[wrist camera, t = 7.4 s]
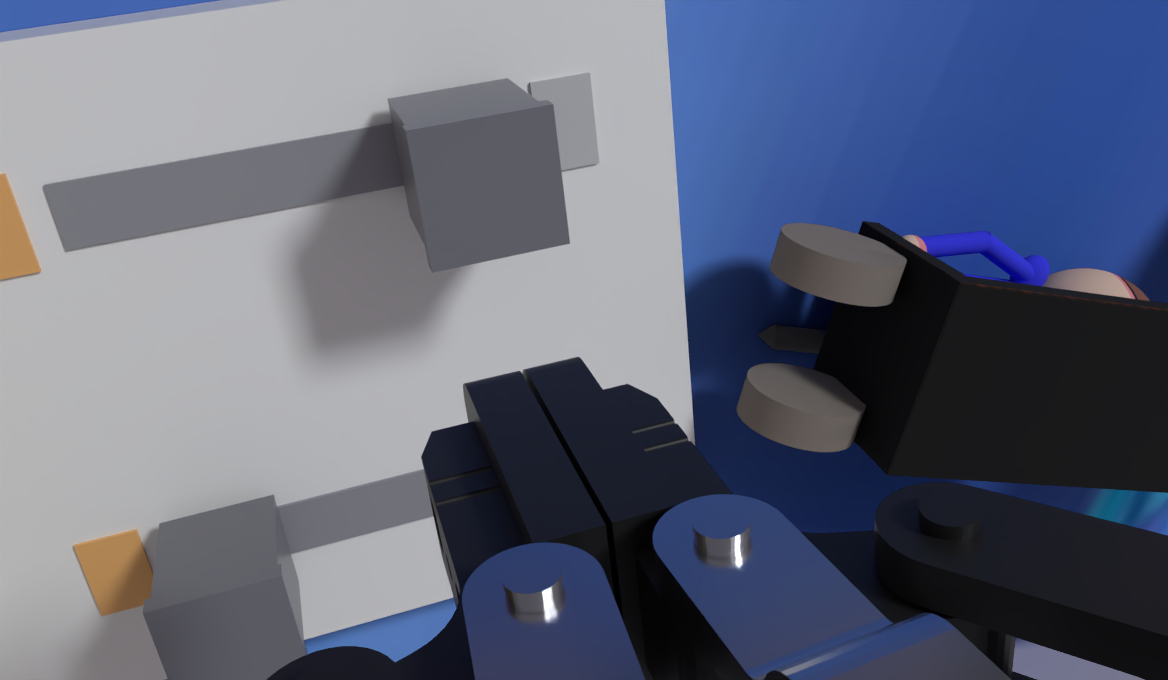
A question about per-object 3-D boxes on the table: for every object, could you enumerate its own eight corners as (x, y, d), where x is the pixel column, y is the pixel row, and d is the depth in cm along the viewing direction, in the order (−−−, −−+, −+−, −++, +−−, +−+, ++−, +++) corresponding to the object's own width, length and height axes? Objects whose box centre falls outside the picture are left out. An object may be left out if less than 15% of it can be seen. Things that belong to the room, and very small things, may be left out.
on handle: (276, 490, 28) (282, 575, 25) (303, 582, 29) (311, 675, 26) (154, 521, 27) (142, 613, 24) (187, 613, 29) (181, 713, 25)
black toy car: (685, 370, 35) (1062, 406, 39) (762, 484, 28) (1211, 515, 32) (731, 177, 33) (1127, 236, 37) (827, 251, 26) (1305, 314, 30)
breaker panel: (633, -60, 27) (662, -55, 26) (677, 495, 35) (701, 528, 34) (-254, 69, 23) (-297, 86, 21) (26, 674, 31) (13, 725, 29)
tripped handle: (510, 73, 25) (553, 104, 22) (528, 196, 27) (569, 243, 23) (382, 95, 25) (405, 130, 21) (406, 220, 26) (432, 272, 23)
